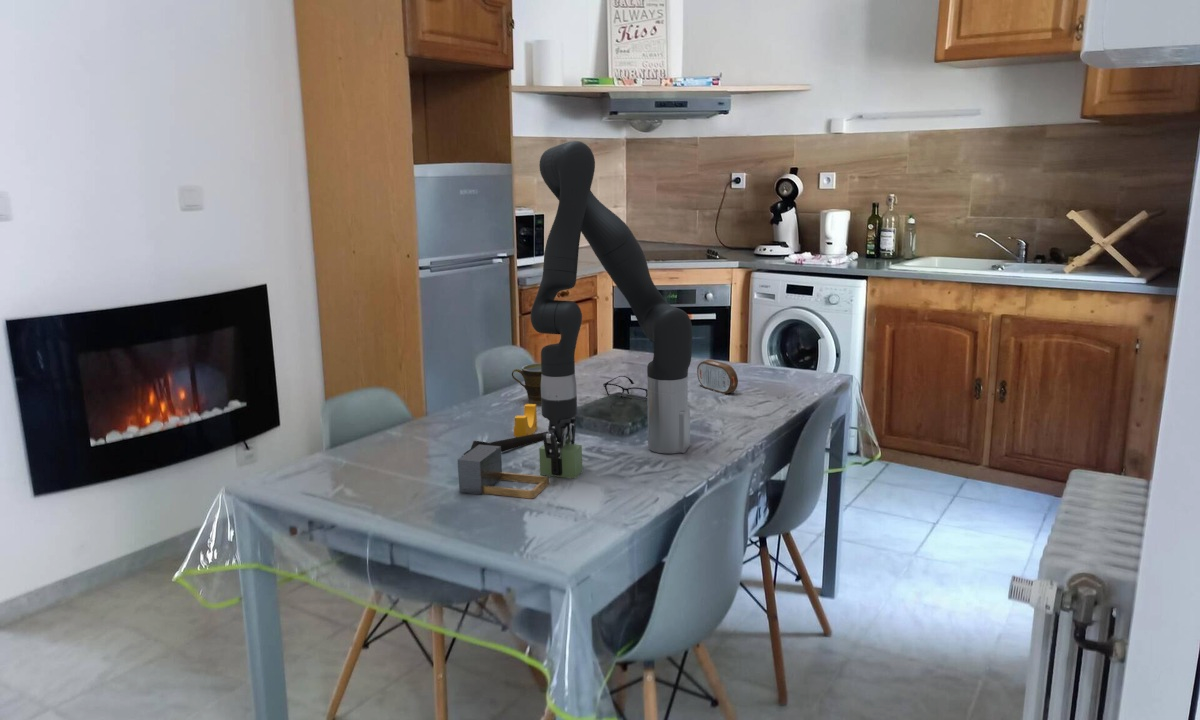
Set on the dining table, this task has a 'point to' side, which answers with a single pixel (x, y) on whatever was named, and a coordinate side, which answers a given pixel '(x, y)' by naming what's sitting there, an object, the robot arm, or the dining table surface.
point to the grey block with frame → (492, 474)
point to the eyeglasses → (622, 387)
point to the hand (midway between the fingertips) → (561, 470)
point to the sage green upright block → (563, 461)
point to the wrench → (511, 442)
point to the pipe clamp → (526, 421)
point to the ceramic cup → (531, 381)
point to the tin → (717, 376)
